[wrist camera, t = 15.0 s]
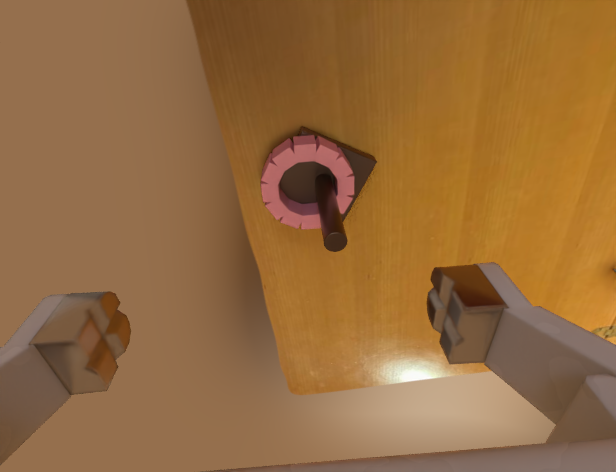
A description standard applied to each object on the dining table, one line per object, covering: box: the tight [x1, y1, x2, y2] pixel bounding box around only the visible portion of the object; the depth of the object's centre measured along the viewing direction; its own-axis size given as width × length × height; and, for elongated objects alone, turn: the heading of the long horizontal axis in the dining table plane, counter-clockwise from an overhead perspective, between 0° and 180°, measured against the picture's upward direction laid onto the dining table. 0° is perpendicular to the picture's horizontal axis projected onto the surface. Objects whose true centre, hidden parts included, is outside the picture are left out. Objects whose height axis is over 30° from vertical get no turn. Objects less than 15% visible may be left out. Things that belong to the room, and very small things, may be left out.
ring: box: [261, 135, 354, 229], centre depth 38 cm, size 10×10×3 cm
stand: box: [279, 127, 377, 252], centre depth 35 cm, size 9×9×14 cm
